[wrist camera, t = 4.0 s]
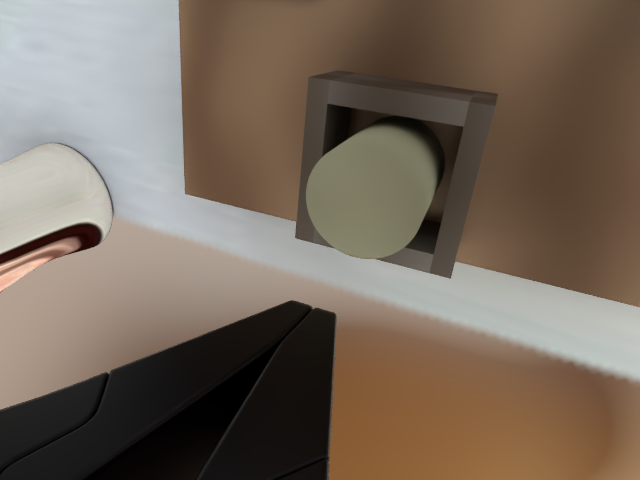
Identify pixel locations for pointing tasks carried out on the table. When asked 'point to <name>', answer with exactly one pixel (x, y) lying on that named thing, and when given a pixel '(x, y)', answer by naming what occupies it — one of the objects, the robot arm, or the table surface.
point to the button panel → (434, 121)
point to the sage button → (376, 187)
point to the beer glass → (49, 209)
